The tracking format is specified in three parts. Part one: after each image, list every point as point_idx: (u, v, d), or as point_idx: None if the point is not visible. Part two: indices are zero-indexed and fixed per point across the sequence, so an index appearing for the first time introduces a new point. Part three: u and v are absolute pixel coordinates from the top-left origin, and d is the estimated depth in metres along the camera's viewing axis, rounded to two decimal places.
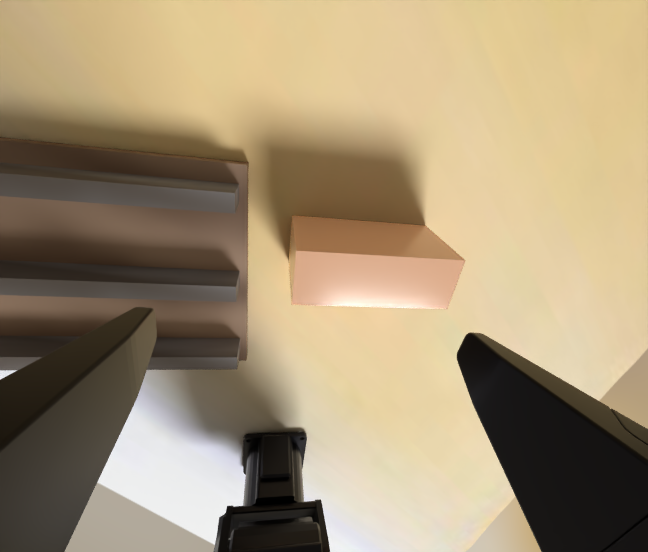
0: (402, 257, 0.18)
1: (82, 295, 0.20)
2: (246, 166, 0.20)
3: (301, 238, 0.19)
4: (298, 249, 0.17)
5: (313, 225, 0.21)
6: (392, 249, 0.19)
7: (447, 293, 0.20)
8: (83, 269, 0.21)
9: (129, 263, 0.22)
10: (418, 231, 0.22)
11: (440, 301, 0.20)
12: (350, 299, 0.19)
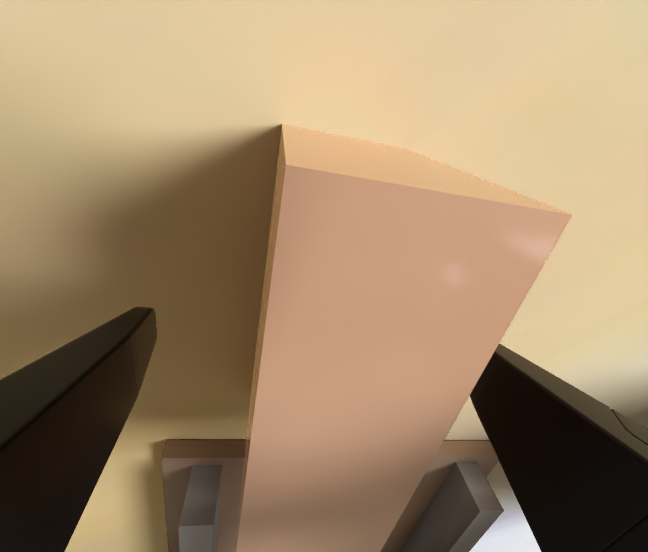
0: (256, 422, 0.05)
1: None
2: (164, 457, 0.13)
3: None
4: None
5: None
6: (255, 389, 0.06)
7: (473, 229, 0.04)
8: None
9: None
10: (276, 180, 0.08)
11: (506, 258, 0.04)
12: (385, 504, 0.07)
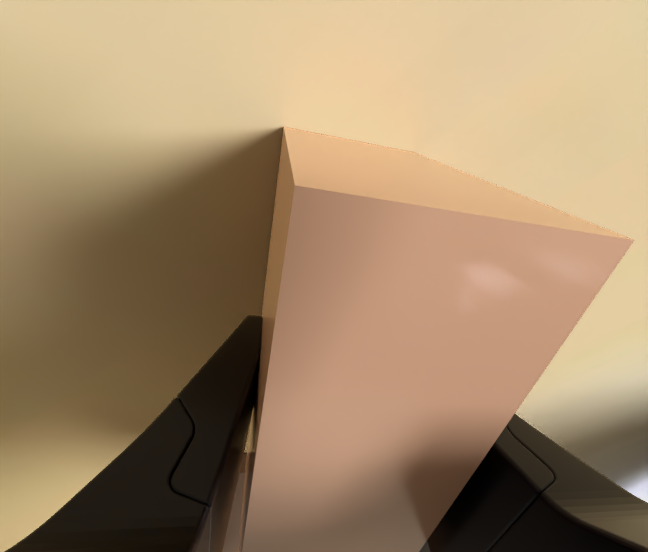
0: (257, 470, 0.04)
1: None
2: None
3: (240, 527, 0.09)
4: None
5: None
6: (255, 425, 0.05)
7: (518, 257, 0.03)
8: None
9: None
10: (277, 188, 0.07)
11: (553, 289, 0.03)
12: (398, 546, 0.06)
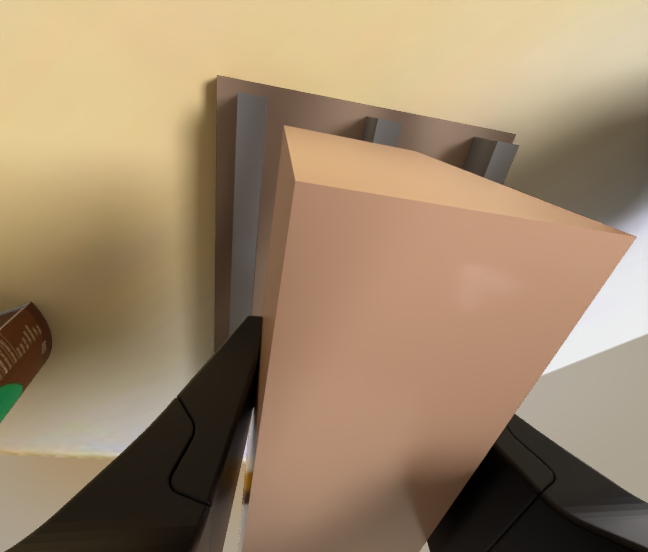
0: (257, 469, 0.04)
1: None
2: (219, 76, 0.15)
3: (240, 527, 0.08)
4: None
5: None
6: (256, 424, 0.05)
7: (520, 254, 0.03)
8: None
9: None
10: (278, 187, 0.07)
11: (555, 287, 0.03)
12: (399, 546, 0.06)
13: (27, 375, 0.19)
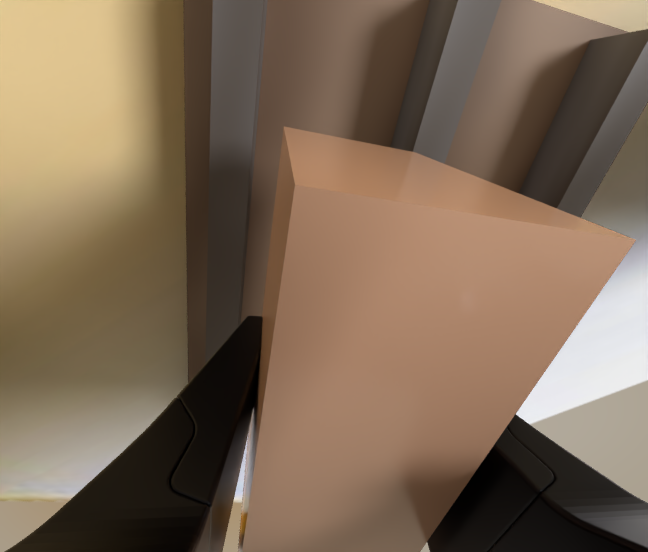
0: (257, 471, 0.04)
1: None
2: None
3: None
4: None
5: None
6: (255, 426, 0.05)
7: (519, 258, 0.03)
8: None
9: None
10: (278, 188, 0.07)
11: (553, 290, 0.03)
12: (399, 547, 0.06)
13: None
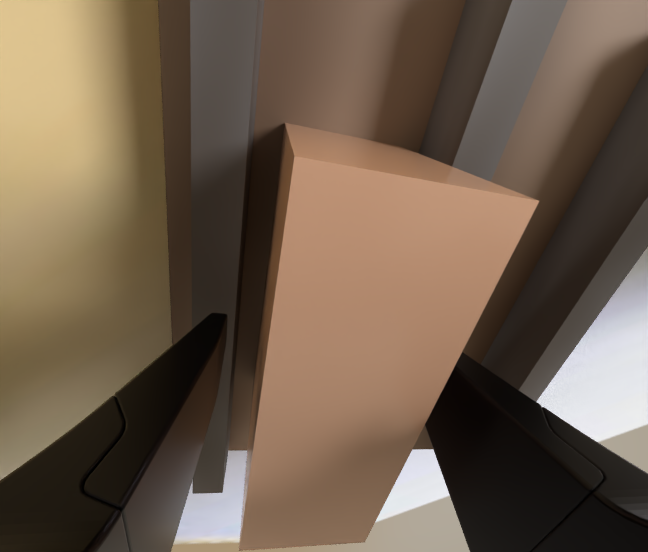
0: (265, 388, 0.06)
1: None
2: None
3: (245, 473, 0.10)
4: None
5: (253, 389, 0.11)
6: (262, 363, 0.07)
7: (453, 212, 0.04)
8: None
9: None
10: None
11: (483, 239, 0.05)
12: (379, 471, 0.07)
13: None
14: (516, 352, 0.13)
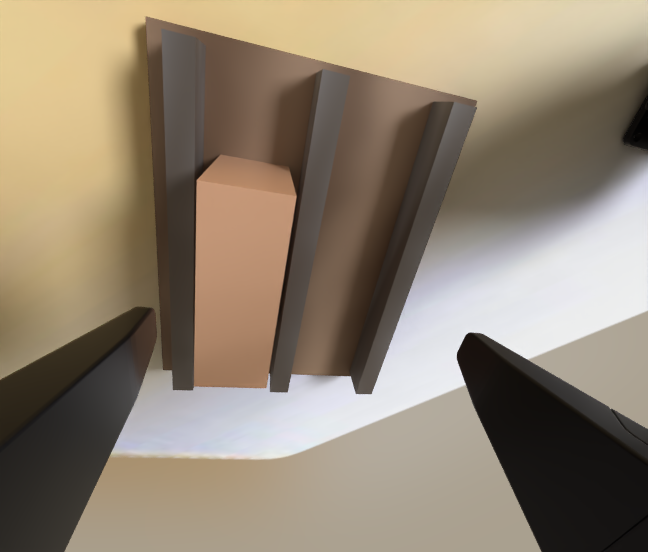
0: (196, 278, 0.13)
1: (309, 269, 0.18)
2: (148, 18, 0.13)
3: None
4: (194, 382, 0.16)
5: None
6: None
7: (262, 200, 0.12)
8: (288, 262, 0.19)
9: None
10: None
11: (278, 211, 0.12)
12: (263, 334, 0.15)
13: None
14: (381, 295, 0.20)
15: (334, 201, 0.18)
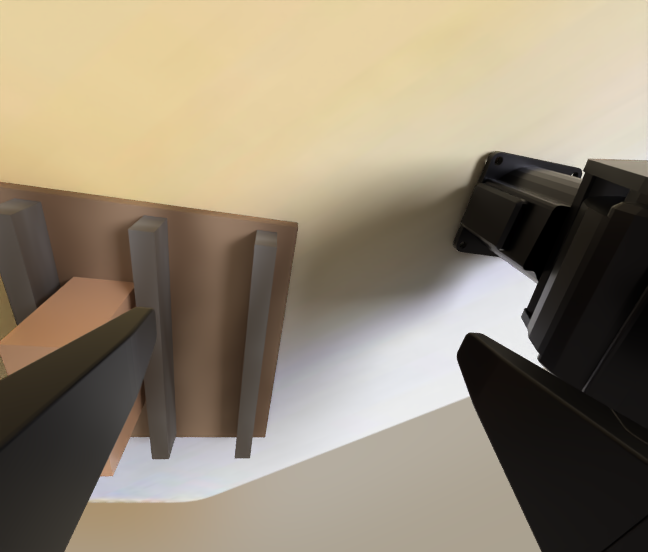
0: None
1: (160, 367, 0.20)
2: None
3: None
4: None
5: None
6: None
7: None
8: None
9: None
10: None
11: None
12: None
13: None
14: None
15: (187, 306, 0.21)
